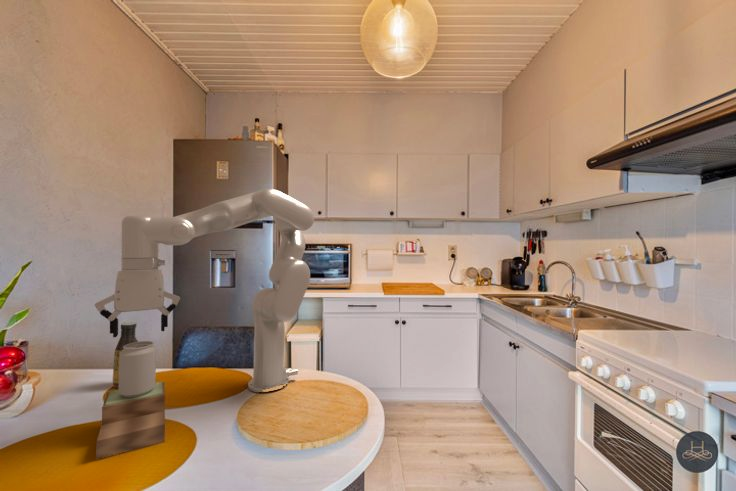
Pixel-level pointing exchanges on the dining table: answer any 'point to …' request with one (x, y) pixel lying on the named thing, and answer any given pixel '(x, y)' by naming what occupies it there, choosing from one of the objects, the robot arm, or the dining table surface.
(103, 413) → the step stand
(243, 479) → the dining table surface
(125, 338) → the sauce bottle
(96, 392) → the dining table surface
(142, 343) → the can
